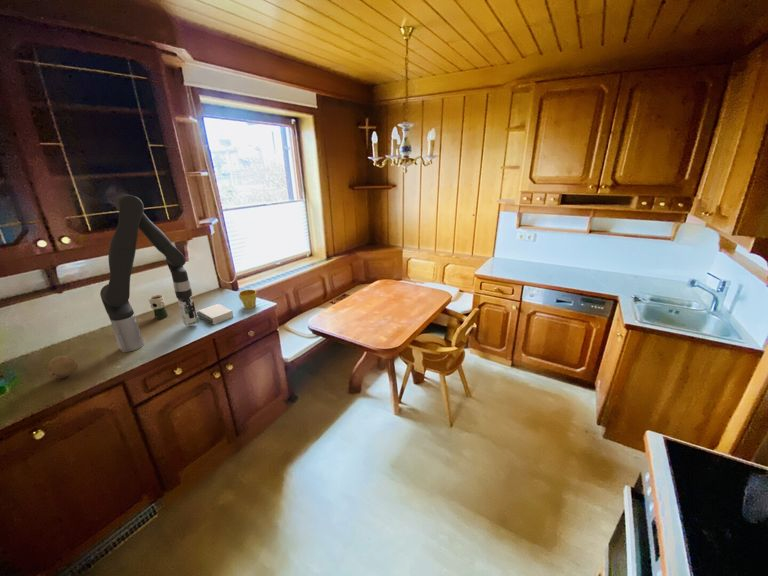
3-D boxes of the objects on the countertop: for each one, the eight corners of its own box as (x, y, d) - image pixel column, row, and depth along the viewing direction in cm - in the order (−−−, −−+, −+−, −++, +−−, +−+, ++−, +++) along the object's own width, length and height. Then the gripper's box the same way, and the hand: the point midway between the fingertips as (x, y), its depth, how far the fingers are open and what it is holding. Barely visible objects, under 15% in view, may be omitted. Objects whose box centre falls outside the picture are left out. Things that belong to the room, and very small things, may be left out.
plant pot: (248, 311, 195) (245, 297, 191) (237, 307, 200) (235, 293, 196) (261, 305, 203) (259, 291, 199) (251, 301, 208) (249, 288, 204)
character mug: (149, 317, 186) (143, 297, 181) (161, 312, 192) (155, 293, 187) (162, 321, 182) (156, 301, 177) (173, 316, 188) (168, 296, 183)
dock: (211, 325, 179) (210, 319, 177) (197, 317, 187) (196, 311, 186) (233, 316, 188) (232, 310, 187) (219, 309, 197) (218, 303, 196)
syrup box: (187, 326, 173) (182, 303, 168) (183, 323, 176) (177, 300, 171) (198, 323, 177) (193, 299, 172) (193, 320, 181) (188, 296, 175)
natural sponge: (86, 369, 140) (78, 350, 137) (71, 382, 132) (62, 362, 128) (63, 370, 139) (55, 351, 135) (46, 384, 131) (37, 364, 127)
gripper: (169, 287, 170) (176, 315, 176) (181, 293, 162) (188, 322, 168) (184, 283, 176) (190, 310, 182) (196, 289, 168) (202, 317, 174)
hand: (189, 316), depth 175 cm, fingers closed on syrup box, 6 cm apart
